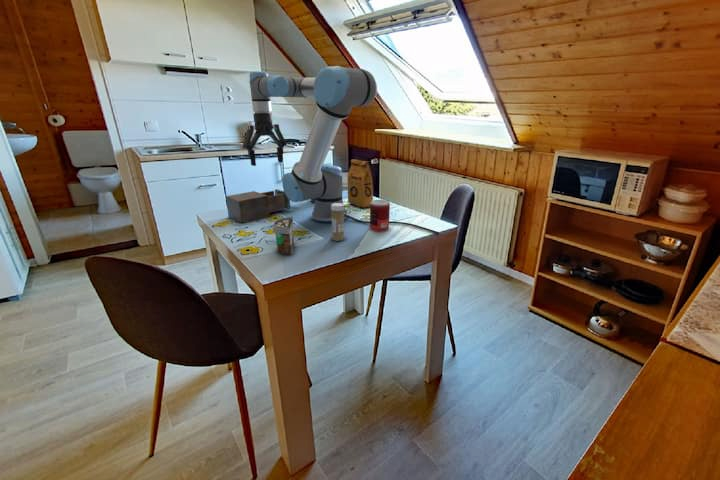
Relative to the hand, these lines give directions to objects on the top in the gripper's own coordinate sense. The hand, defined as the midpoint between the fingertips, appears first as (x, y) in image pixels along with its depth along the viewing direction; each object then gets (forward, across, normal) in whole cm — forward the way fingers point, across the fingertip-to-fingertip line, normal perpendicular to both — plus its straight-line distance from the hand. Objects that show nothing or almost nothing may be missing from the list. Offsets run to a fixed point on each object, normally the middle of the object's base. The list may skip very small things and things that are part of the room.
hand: (267, 163), depth 153 cm
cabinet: (+22, +11, -1) cm, 25 cm away
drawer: (+21, -4, -1) cm, 22 cm away
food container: (+23, +22, +41) cm, 52 cm away
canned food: (+23, -18, +50) cm, 58 cm away
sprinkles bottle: (+23, +2, +47) cm, 53 cm away
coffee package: (+23, -38, +20) cm, 49 cm away
